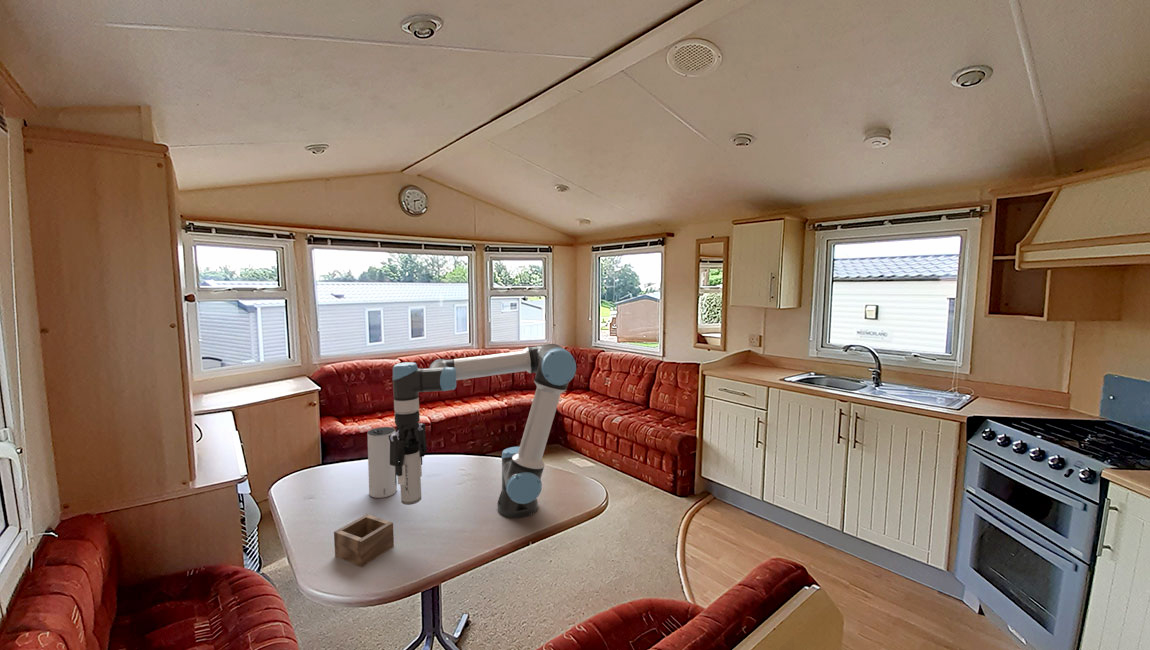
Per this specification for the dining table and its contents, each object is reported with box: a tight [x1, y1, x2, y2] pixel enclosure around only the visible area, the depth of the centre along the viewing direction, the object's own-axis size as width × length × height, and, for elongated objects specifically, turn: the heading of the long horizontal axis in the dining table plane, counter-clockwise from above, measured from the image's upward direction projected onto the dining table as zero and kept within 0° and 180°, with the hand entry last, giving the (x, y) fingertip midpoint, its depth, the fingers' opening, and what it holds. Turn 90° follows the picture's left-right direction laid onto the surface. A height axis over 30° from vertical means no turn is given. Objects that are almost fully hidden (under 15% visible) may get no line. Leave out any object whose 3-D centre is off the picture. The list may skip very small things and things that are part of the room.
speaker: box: [366, 426, 398, 499], centre depth 182 cm, size 11×10×26 cm
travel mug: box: [399, 440, 422, 506], centre depth 148 cm, size 6×7×20 cm
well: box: [333, 513, 395, 568], centre depth 143 cm, size 12×12×8 cm
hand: (410, 479), depth 148 cm, fingers closed on travel mug, 6 cm apart
